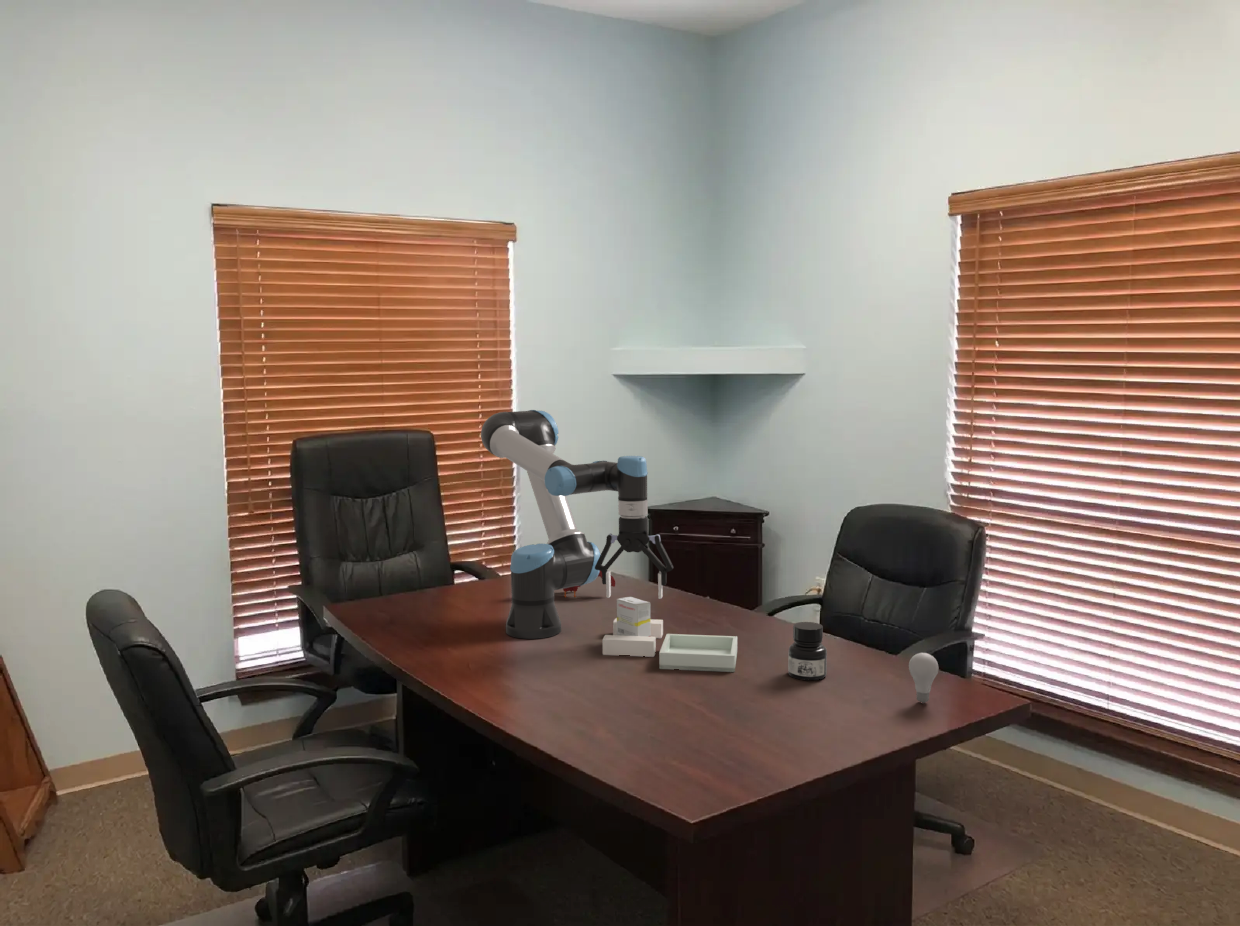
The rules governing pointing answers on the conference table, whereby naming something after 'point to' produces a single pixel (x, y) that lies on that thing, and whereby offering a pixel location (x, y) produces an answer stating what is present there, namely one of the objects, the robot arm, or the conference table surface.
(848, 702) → the conference table surface
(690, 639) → the pale green tray
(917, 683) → the lightbulb
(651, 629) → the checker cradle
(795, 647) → the ink bottle
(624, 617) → the ink box
